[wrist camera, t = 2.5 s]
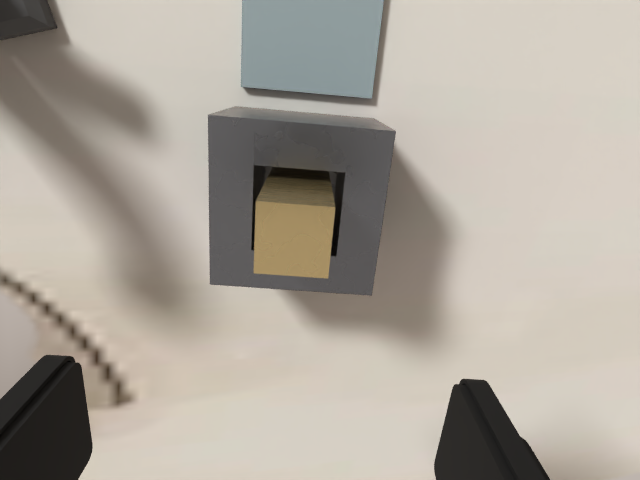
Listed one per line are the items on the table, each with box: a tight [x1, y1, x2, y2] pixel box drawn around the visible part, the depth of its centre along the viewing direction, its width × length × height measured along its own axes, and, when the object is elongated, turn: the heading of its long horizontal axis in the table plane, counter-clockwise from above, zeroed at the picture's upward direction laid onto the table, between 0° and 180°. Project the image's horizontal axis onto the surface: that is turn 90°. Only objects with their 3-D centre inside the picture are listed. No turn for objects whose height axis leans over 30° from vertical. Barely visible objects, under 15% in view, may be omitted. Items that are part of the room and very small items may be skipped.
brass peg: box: [254, 167, 335, 279], centre depth 27 cm, size 4×4×12 cm
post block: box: [208, 106, 396, 295], centre depth 30 cm, size 11×11×9 cm
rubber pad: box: [241, 0, 384, 99], centre depth 30 cm, size 10×10×1 cm
